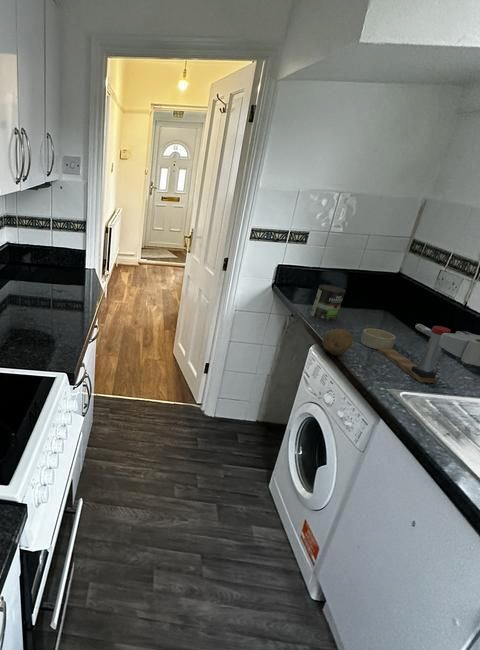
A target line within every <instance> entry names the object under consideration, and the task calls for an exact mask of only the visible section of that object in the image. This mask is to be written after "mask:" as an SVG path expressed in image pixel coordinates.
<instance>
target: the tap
mask: <svg viewBox="0 0 480 650" xmlns="http://www.w3.org/2000/svg"><path fill="white" fill-rule="evenodd" d="M414 328H415V330H417V331H419V332H421V333H423V334H424V335H426V336H427V337H429V340H428V342H427V345H426V347H425V350H424V352H423V354H422V356H421V359H420V361H419V364H418V365H417V366H418V367H417V366H413V367H412V369H411V370H412V371H413V372H414V373H416V374H417V375H419V376H420V377H431V378H437V377H436V376H437V372H435V371H433V369H434V367H435V365H436V362H437V360H438V358H439V356H440V353H441V350H442V349H443V348H442V347H440V346H439V340H440V338H441V336H442V334H443V333H451V332H452V330H451V329H450V328H449V327H445V326H442V325H433V326H432V328H429V327H427V326H425V325H423V324H421V323H416V324H415V327H414Z"/></svg>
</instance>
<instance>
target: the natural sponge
mask: <svg viewBox="0 0 480 650" xmlns="http://www.w3.org/2000/svg"><path fill="white" fill-rule="evenodd" d="M353 340H354V339H353V336H352V334H351V333H350V332H349V331H348V330H346V329H343V328H334V329H331V330H329V331H327V332H326V333H325V334H324V336H323V337H322V342H321V344H322V346H323V348H324V349H325V350H326V351H327V352H329V354H330V355H332V356H341V355H343V354H345V353H346V352H347V351H348V350H350V349H351V348H352V346H353V343H354V341H353Z"/></svg>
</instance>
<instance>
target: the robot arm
mask: <svg viewBox="0 0 480 650" xmlns="http://www.w3.org/2000/svg"><path fill="white" fill-rule="evenodd" d="M439 346H440V347H442V348H441V349H443V350H445V351H447V352H448V353H450V354H452V355H453V356H455V357H458V358H460V361H461V362H463V363H464V364H466V365H471V366H477V367H480V335H479V334H475V333H471V332H469V331H461V330H460V331H459V330H457V331H455V333H452V332H450V333H443V334H442V336H441V338H440V340H439Z"/></svg>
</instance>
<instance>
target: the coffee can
mask: <svg viewBox="0 0 480 650" xmlns="http://www.w3.org/2000/svg"><path fill="white" fill-rule="evenodd" d="M346 293H347V290H346V289H345V288H343V287H340V286H337V285H332V284H319V285H318V289H317V293H316V296H315V299H314V302H313V305H312V309H311V312H310V314H309V315H310V316H311V317H312V318H313V319H315V320H318V321H321V322H327V323H328V322H331V323H332V322H335V321H336V319H337V318H338V314H339V311H340V309H341V305H342V303H343V299H344V297H345V294H346Z"/></svg>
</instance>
